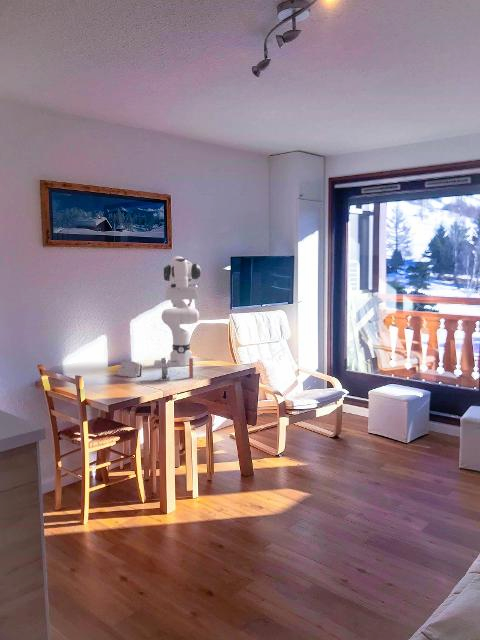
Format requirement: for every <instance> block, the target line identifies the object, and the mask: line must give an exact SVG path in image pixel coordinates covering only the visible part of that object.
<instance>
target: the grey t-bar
mask: <svg viewBox="0 0 480 640" xmlns="http://www.w3.org/2000/svg"><path fill="white" fill-rule="evenodd" d="M153 367H154V368H159V367H161V376H160V377H159V382H161V381H163V382H164V381H166V382H168V381H170V380H171V376H169V371H168V368H169V367H181V366H180V360H170V359H168V357H162V358H160V359H159V360H154V363H153Z"/></svg>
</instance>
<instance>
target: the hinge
mask: <svg viewBox="0 0 480 640" xmlns="http://www.w3.org/2000/svg"><path fill="white" fill-rule="evenodd" d="M143 369H144V367H143V365H142V364H141V363H139V362H136V361H133V360H132V361H130V360H127V361H122V362H121V363H120V366H119V369H118V371H117V374H116V376H121V377H127V376H128V378H136V379H137V378H138V377H142V376H143Z"/></svg>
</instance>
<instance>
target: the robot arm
mask: <svg viewBox="0 0 480 640" xmlns="http://www.w3.org/2000/svg"><path fill="white" fill-rule="evenodd" d="M161 272H162V273H161V274H162V277H163V280H164V281H166V282H170V283H167V284H166V289H165V293H164V296H165V297H164V299H165V300H166V301H170V303H171V304H172V307H171V308H166V309H164V310H163V311H162V313H161V320H162V322H163V323H164V324H165V325H167V327H168V328H169V329H170V331H171V334H172V347H171V348H172V350H171V352H170V354H169V356H170V359H169V360H180V366H179V367H185V366H189V358H193V352H192V351H191V344H190V334H189V331H188V330H186V329H185V328H182V327H181V326H180V325H193V324H197V322H199V320H200V312H199V310H198V309H197V308H194V307H193V306H192V305H191V304H192V303H193V300H197V299H198V297H199V296H198V286H197V285H196V284H190V283H189V282H190V281H191V280H198V279H200V277H201V274H202V270H201V266H200V265H199V264H198V263H194V262H191V261H189V260H187V259H186V258H184V257H182V256H180V255H176V256H174V257H173V258H172V259H171V260H170V264H169V263H168V264H167V265H166V266H164V268H163V270H162V271H161ZM171 281H172V282H171ZM193 365H196V362H195V361H194V360H193Z"/></svg>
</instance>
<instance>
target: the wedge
mask: <svg viewBox="0 0 480 640" xmlns="http://www.w3.org/2000/svg"><path fill="white" fill-rule="evenodd" d="M193 361H194V359H193V357H192V358H189V365H188V367H189V368H188V369H189V371H188V373H189V374H188V375H189V378H190V379H194V364H193Z"/></svg>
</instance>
